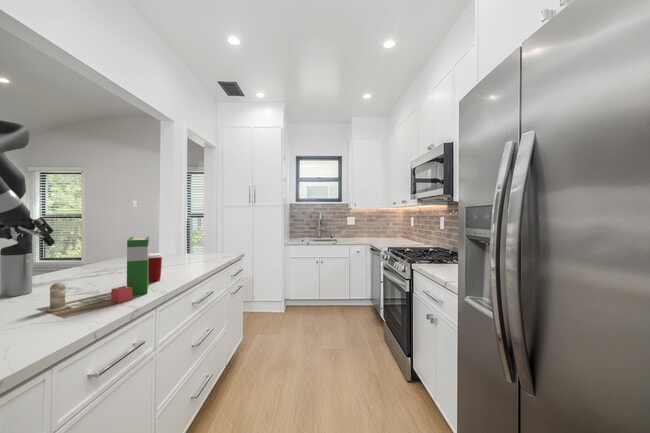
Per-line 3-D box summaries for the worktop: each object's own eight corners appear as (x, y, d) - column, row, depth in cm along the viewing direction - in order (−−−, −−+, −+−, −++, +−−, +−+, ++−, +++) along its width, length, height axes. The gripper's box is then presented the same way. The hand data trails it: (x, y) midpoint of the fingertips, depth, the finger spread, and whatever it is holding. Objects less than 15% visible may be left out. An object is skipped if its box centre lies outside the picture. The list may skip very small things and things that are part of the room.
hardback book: (130, 286, 134) (130, 237, 134) (148, 285, 138) (148, 236, 138) (126, 296, 119) (127, 240, 119) (147, 294, 123) (147, 239, 123)
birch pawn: (43, 310, 101) (43, 283, 101) (63, 305, 106) (63, 280, 106) (51, 312, 99) (51, 285, 98) (71, 307, 104) (71, 281, 104)
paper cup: (166, 279, 149) (166, 253, 149) (152, 283, 142) (153, 255, 142) (155, 278, 152) (155, 252, 152) (141, 281, 145) (141, 254, 144)
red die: (111, 301, 112) (111, 288, 112) (124, 297, 117) (124, 285, 117) (118, 303, 110) (119, 290, 110) (132, 299, 115) (132, 287, 115)
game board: (35, 310, 102) (35, 309, 102) (104, 294, 122) (104, 293, 122) (64, 320, 94) (64, 318, 94) (133, 301, 114) (133, 299, 114)
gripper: (37, 197, 90) (67, 237, 99) (-5, 202, 91) (29, 241, 100) (17, 210, 84) (51, 251, 93) (-29, 214, 84) (10, 255, 93)
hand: (39, 245), depth 96 cm, fingers open, 8 cm apart
